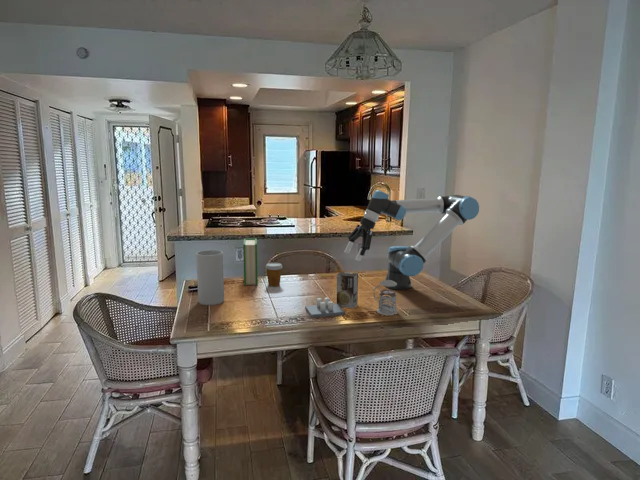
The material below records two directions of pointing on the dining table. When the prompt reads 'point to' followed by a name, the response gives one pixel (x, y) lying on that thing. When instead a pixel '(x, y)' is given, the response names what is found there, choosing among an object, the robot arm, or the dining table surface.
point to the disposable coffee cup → (274, 273)
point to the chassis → (324, 309)
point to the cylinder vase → (210, 277)
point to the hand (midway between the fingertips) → (351, 256)
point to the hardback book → (250, 261)
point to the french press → (387, 298)
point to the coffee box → (347, 289)
